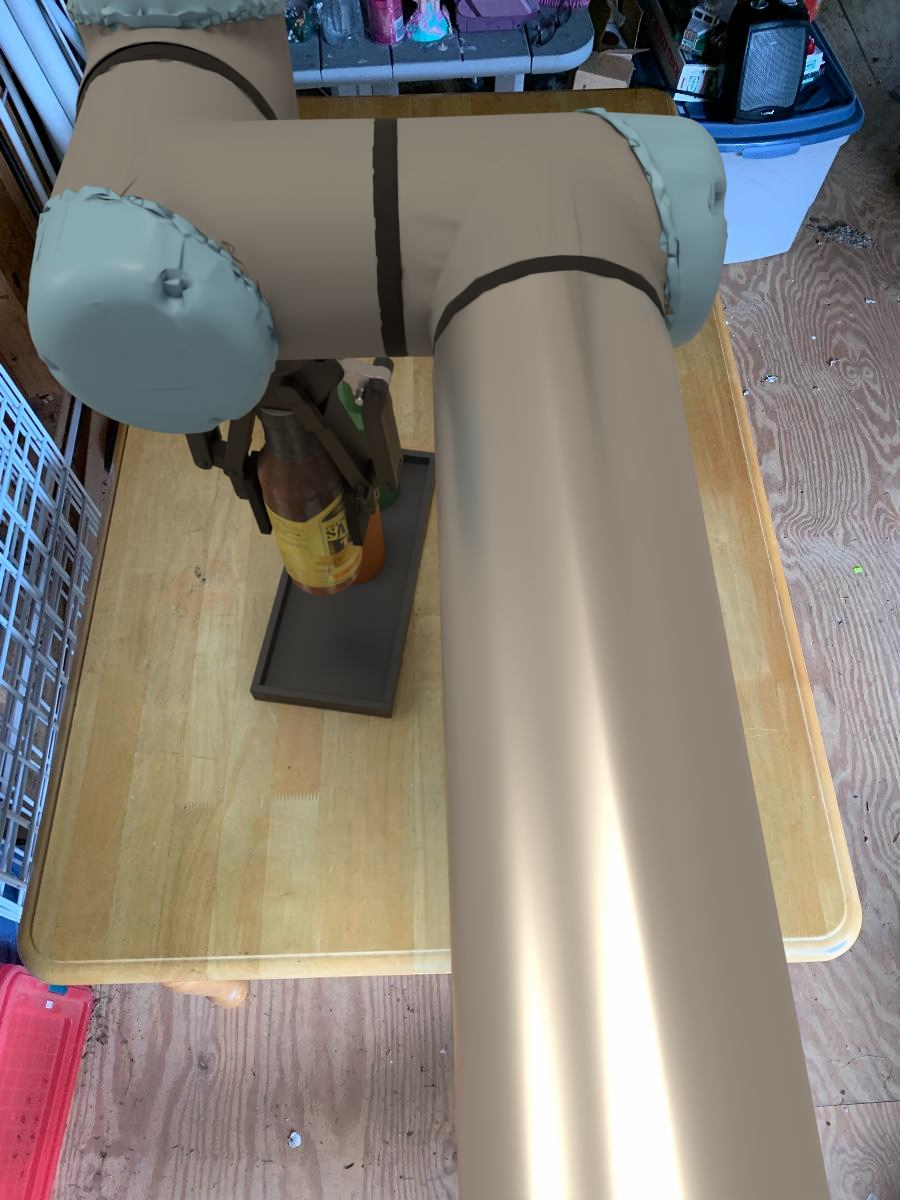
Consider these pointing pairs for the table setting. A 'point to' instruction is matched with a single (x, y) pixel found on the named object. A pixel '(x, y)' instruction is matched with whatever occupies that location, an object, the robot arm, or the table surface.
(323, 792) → the table surface
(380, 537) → the amber bottle
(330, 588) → the sauce bottle
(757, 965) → the robot arm
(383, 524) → the tray
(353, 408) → the green bottle
